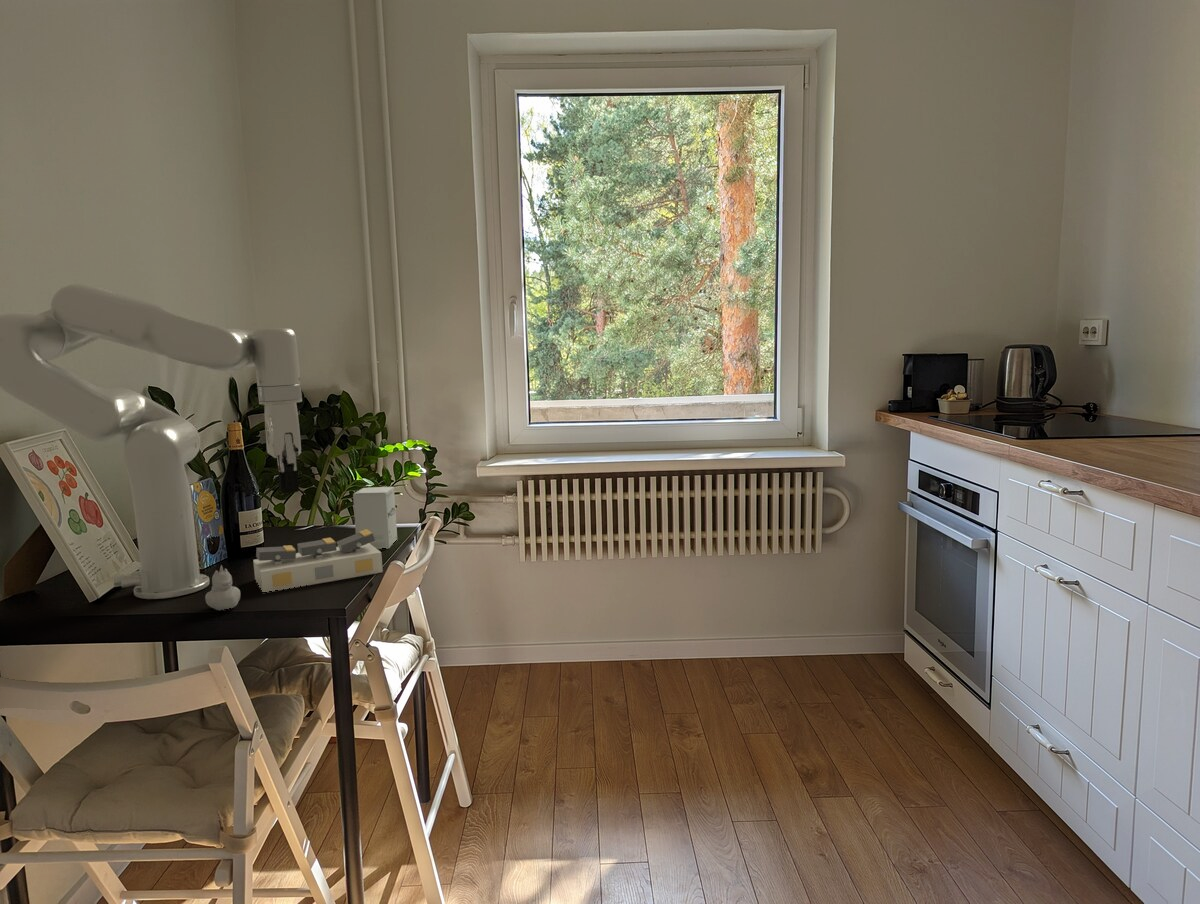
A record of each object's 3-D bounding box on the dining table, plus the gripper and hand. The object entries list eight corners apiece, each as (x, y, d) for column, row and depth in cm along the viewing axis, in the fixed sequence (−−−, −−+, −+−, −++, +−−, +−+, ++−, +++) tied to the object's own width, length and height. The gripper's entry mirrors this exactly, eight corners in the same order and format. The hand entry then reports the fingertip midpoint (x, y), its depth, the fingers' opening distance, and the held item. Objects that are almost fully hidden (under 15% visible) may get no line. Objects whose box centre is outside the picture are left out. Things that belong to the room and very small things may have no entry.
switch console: (263, 593, 148) (260, 569, 147) (255, 579, 156) (252, 556, 156) (383, 572, 158) (381, 549, 158) (369, 560, 167) (367, 539, 167)
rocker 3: (344, 553, 157) (341, 545, 157) (338, 548, 161) (335, 540, 161) (375, 540, 160) (372, 532, 160) (369, 536, 164) (366, 528, 164)
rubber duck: (214, 616, 136) (209, 570, 135) (201, 608, 141) (196, 563, 139) (247, 608, 139) (242, 563, 138) (233, 600, 144) (228, 556, 143)
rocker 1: (259, 561, 149) (259, 551, 149) (255, 555, 153) (256, 546, 153) (295, 559, 153) (296, 549, 153) (291, 553, 157) (291, 544, 156)
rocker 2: (302, 556, 153) (301, 547, 153) (297, 551, 157) (296, 542, 157) (336, 550, 156) (336, 541, 156) (331, 545, 160) (330, 537, 160)
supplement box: (389, 549, 176) (385, 492, 174) (355, 550, 176) (351, 493, 175) (398, 540, 184) (394, 486, 182) (366, 541, 184) (362, 486, 182)
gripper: (253, 394, 155) (262, 489, 158) (264, 398, 142) (274, 501, 145) (294, 392, 159) (303, 484, 161) (308, 395, 146) (318, 495, 148)
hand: (289, 491), depth 153 cm, fingers closed
